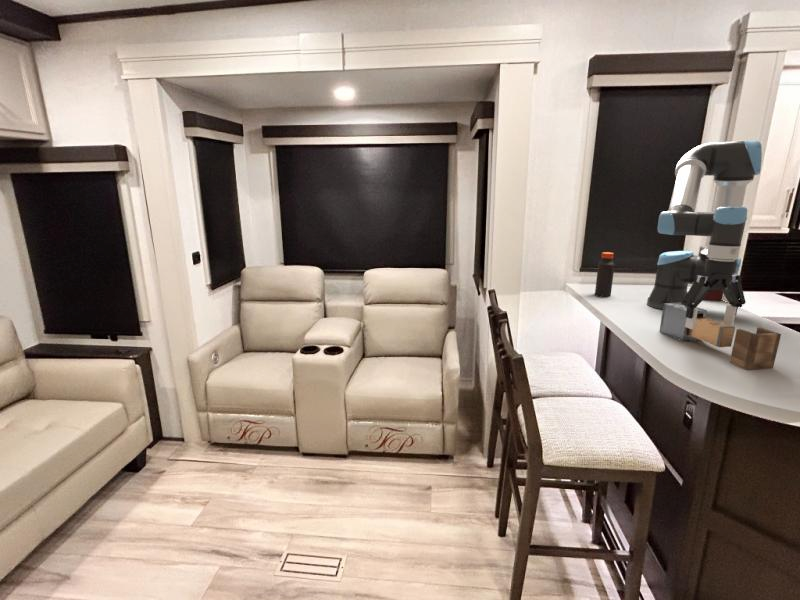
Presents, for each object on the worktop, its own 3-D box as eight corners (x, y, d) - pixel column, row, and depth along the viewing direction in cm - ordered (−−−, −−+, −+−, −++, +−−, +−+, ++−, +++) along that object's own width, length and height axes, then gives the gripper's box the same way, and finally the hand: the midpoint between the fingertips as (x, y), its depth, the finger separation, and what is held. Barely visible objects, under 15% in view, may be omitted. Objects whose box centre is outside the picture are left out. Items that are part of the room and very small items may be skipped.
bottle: (613, 297, 191) (619, 254, 186) (598, 297, 191) (603, 254, 186) (606, 293, 198) (611, 251, 193) (592, 293, 198) (597, 252, 193)
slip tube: (678, 325, 144) (680, 309, 142) (731, 346, 125) (735, 327, 123) (667, 326, 143) (670, 309, 141) (719, 347, 124) (722, 328, 122)
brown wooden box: (753, 360, 120) (761, 327, 117) (772, 368, 115) (781, 334, 112) (729, 362, 119) (736, 329, 116) (748, 370, 113) (755, 335, 111)
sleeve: (677, 330, 146) (681, 302, 143) (701, 340, 136) (706, 310, 134) (659, 331, 145) (663, 303, 142) (682, 341, 135) (687, 311, 133)
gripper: (695, 262, 118) (683, 332, 124) (769, 260, 122) (754, 328, 127) (675, 258, 126) (664, 325, 131) (745, 256, 129) (732, 321, 135)
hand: (708, 327), depth 129 cm, fingers open, 13 cm apart
